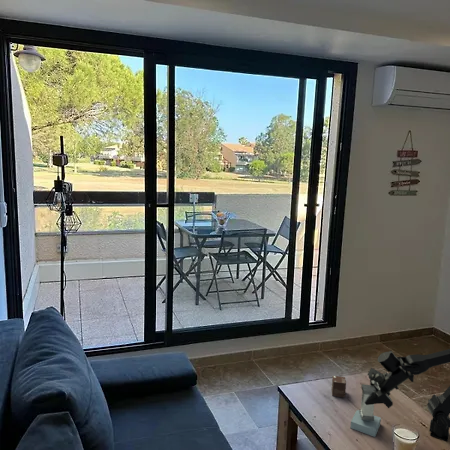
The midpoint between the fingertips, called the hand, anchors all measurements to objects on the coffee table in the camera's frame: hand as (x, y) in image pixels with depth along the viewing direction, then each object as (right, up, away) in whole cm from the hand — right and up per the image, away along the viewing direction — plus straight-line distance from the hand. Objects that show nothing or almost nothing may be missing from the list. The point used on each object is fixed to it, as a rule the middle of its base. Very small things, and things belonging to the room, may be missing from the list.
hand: (364, 400), depth 171 cm
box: (-4, -8, +26) cm, 27 cm away
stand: (+1, -11, +2) cm, 12 cm away
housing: (+1, -7, +1) cm, 7 cm away
